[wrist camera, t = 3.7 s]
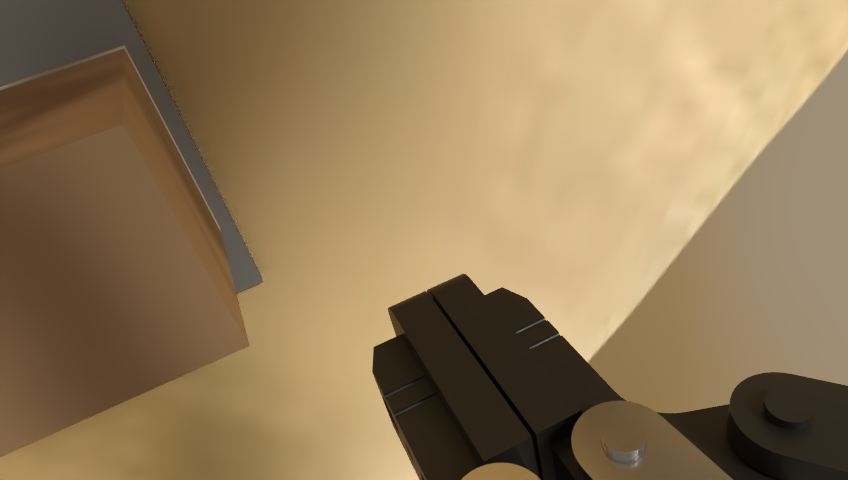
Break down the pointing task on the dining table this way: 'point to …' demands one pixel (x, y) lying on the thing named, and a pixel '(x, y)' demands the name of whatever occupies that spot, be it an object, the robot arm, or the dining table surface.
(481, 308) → the robot arm
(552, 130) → the dining table surface
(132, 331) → the walnut cube
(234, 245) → the placemat
